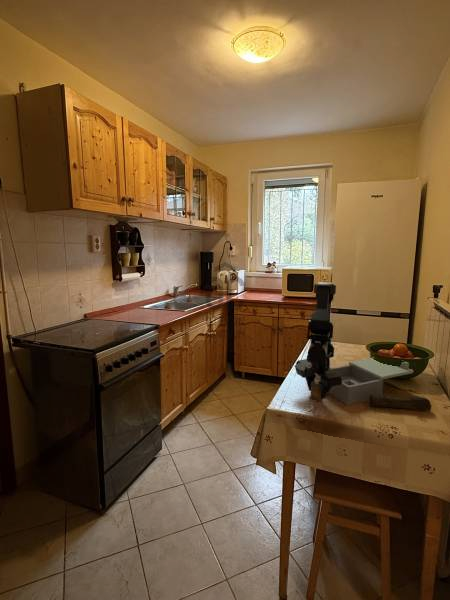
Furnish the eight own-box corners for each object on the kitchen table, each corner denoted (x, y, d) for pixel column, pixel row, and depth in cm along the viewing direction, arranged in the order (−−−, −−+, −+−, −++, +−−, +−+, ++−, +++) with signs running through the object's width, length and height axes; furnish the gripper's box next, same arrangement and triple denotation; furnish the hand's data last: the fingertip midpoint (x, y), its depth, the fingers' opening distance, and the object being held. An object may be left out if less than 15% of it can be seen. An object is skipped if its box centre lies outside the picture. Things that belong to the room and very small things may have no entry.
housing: (317, 386, 124) (318, 370, 123) (349, 379, 130) (350, 364, 129) (347, 404, 110) (348, 387, 108) (381, 396, 115) (383, 379, 114)
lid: (348, 364, 129) (349, 356, 128) (378, 358, 134) (379, 351, 134) (381, 379, 114) (382, 371, 113) (413, 372, 120) (413, 364, 119)
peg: (308, 397, 115) (308, 381, 114) (317, 395, 117) (317, 379, 116) (315, 402, 112) (315, 386, 111) (324, 399, 113) (325, 384, 112)
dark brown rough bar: (370, 408, 108) (371, 396, 107) (368, 403, 111) (369, 390, 111) (433, 416, 103) (435, 402, 102) (428, 409, 107) (430, 397, 106)
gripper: (284, 347, 117) (283, 387, 120) (316, 365, 100) (314, 411, 103) (309, 344, 121) (307, 382, 124) (344, 360, 104) (341, 404, 107)
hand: (316, 394), depth 114 cm, fingers open, 7 cm apart
